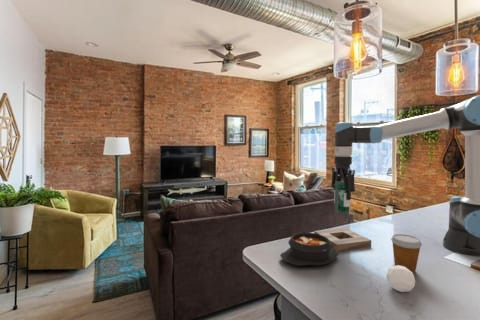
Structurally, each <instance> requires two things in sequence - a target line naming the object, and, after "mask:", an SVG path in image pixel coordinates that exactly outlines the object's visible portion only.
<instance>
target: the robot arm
mask: <svg viewBox="0 0 480 320" xmlns="http://www.w3.org/2000/svg"><path fill="white" fill-rule="evenodd" d="M441 129H444V130H452V129H459V133H460V134H462V135H463V136H464V151H465V152H464V153H465V154H464V163H465V164H464V167H465V169H464V175H465V177H464V180H465V181H464V182H465V183H464V193H465V195H464V196H456V195H455V196H451V197H450V200H449V202H448V203H449V211H448V212H449V213H448V229H447V231H446V233H445V235H444V237H443V239H442V245H443V247H445V248H446V249H448V250H451V251H454V252H456V253H460V254H464V255H469V256H470V255H471V256H480V94H479V95H475V96H472V97H470V98H467V99H465V100H463V101H461V102H459V103H457V104H453V105H451V106H447V107H443V108H441V109H440V110H439V111H435V112H430V113H427V114H423V115H418V116H413V117H409V118H404V119H400V120H395V121H390V122H386V123H381V124H378V125H367V126H354V123H353V122H350V121H347V122H346V121H344V122H343V121H342V122H337V123H336V124H335V130H334V134H335V135H334V155H335V156H334V164H335V167H331V172H332V173H331V183H330V184H331V185H330V186H331V188H333V195H334V197H333V198H334V201H333V203H334V204H335V181H341V180H343V181H344V186H345V192H344V207H349V208H350V207H351V198H352V193H355V190H356V189H355V187H356V186H355V173H356V170H355V169H351V165H352V164H353V163H352V162H353V160H352V159H353V157H352V156H353V144H381V143H382V141H384V140H388V139H389V140H390V139H395V138H399V137H404V136H409V135H414V134H420V133H426V132H429V131H436V130H441Z"/></svg>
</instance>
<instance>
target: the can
mask: <svg viewBox="0 0 480 320" xmlns="http://www.w3.org/2000/svg"><path fill="white" fill-rule="evenodd" d="M344 192H345V186H344V181H343V179H342V180H341V181H335V203H334V214H336V215H337V214H338V215H342V216H343V215H344V216H345V215H346V216H347V215H349V214H350V207H344Z"/></svg>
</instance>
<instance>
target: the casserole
mask: <svg viewBox="0 0 480 320" xmlns="http://www.w3.org/2000/svg"><path fill="white" fill-rule="evenodd" d="M288 245H289V248H287V250H285V251H283V252H281V253H280V255H279V256H280V258H281V259H282V260H283V261H285V262H287V263H288V264H291V265H293V266H297V267H298V266H299V267H300V266H321V265H327V264H329V263H331V262H333V261H334V259H335V258H336V257H337V256H339V251H336V250H334V249H332V245H331V244H330V242H329V239H328V238H326V237H325V236H322V235H319V234H315V233H314V232H298V233H294V234H293V235H291V236H290V239H289V240H288Z"/></svg>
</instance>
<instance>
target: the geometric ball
mask: <svg viewBox="0 0 480 320" xmlns="http://www.w3.org/2000/svg"><path fill="white" fill-rule="evenodd" d="M386 280H387V282H388V285H389V286H391V287H392V288H393V289H394V290H395V291H398V292H400V293H405V292H411V291H412V290H413V289H414V287H415V285H416V278H415V275H414V273H412V272H411V271H410V270H408V269H407V268H406V267H404V266H398V265H396V266H395V265H394V266H391V267H390V268H388V269H387V272H386Z"/></svg>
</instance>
